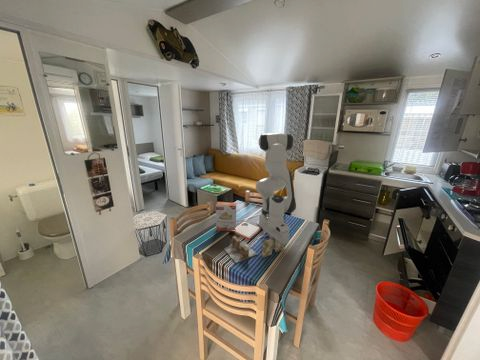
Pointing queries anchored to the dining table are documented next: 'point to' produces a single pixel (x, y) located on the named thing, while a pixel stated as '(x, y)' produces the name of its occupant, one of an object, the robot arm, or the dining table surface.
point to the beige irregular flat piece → (271, 247)
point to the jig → (239, 250)
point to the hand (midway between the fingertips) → (273, 242)
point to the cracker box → (225, 216)
